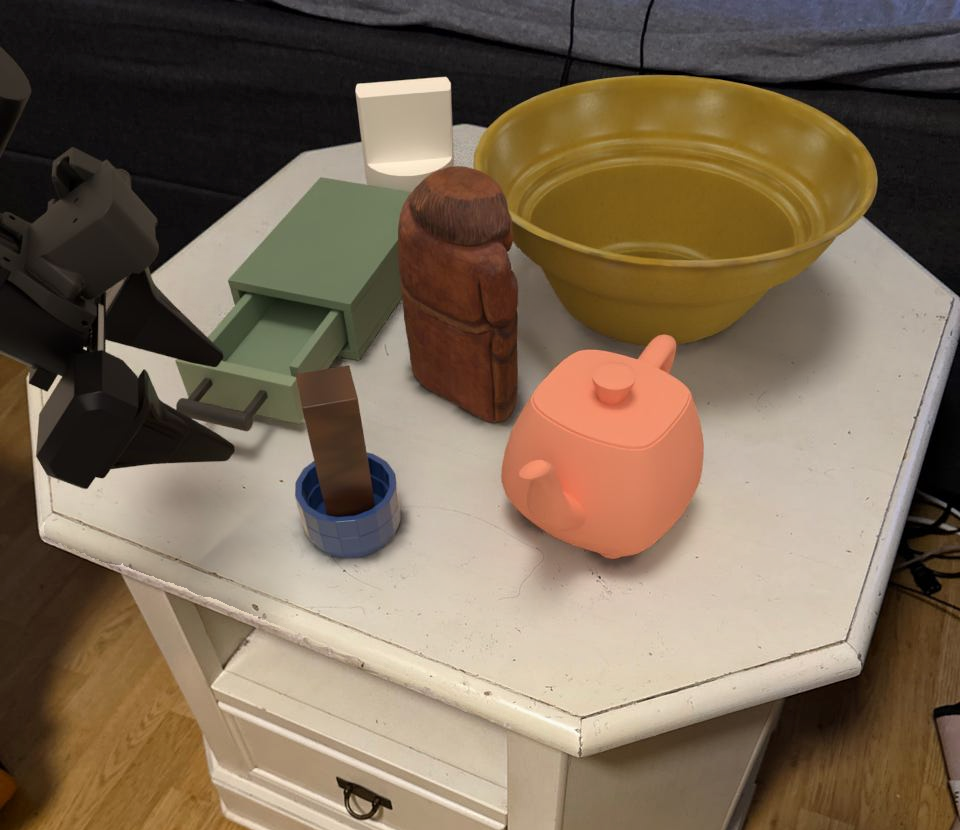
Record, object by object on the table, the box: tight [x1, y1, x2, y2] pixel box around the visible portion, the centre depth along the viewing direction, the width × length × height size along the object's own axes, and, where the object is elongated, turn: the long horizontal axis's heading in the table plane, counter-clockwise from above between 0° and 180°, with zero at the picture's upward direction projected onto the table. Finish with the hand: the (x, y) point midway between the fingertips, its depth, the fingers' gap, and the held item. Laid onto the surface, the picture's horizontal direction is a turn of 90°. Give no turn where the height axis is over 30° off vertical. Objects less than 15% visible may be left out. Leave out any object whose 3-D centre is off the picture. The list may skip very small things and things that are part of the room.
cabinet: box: [227, 176, 412, 361], centre depth 80 cm, size 19×12×6 cm, turn 161°
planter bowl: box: [472, 74, 879, 347], centre depth 75 cm, size 32×32×13 cm
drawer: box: [175, 292, 348, 432], centre depth 73 cm, size 22×10×4 cm, turn 161°
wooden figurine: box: [398, 165, 519, 423], centre depth 66 cm, size 12×6×18 cm, turn 49°
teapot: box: [501, 335, 705, 560], centre depth 60 cm, size 13×20×12 cm, turn 146°
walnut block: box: [296, 364, 375, 517], centre depth 59 cm, size 4×4×12 cm
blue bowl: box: [294, 452, 402, 559], centre depth 63 cm, size 7×7×4 cm
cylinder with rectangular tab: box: [355, 76, 455, 192], centre depth 86 cm, size 9×9×12 cm
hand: (225, 405), depth 54 cm, fingers open, 9 cm apart
